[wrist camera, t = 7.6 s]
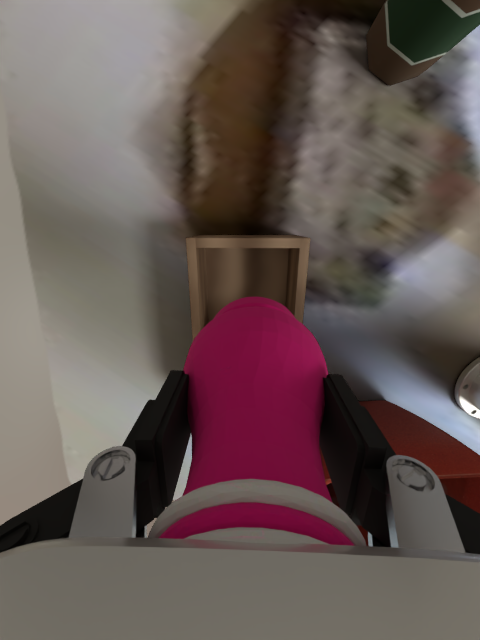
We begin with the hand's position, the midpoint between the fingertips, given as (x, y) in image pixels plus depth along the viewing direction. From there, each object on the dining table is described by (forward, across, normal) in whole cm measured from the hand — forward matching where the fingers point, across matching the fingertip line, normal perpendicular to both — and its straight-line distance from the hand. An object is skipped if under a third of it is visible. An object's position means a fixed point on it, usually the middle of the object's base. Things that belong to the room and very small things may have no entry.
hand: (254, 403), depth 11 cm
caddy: (+27, 0, +6) cm, 28 cm away
